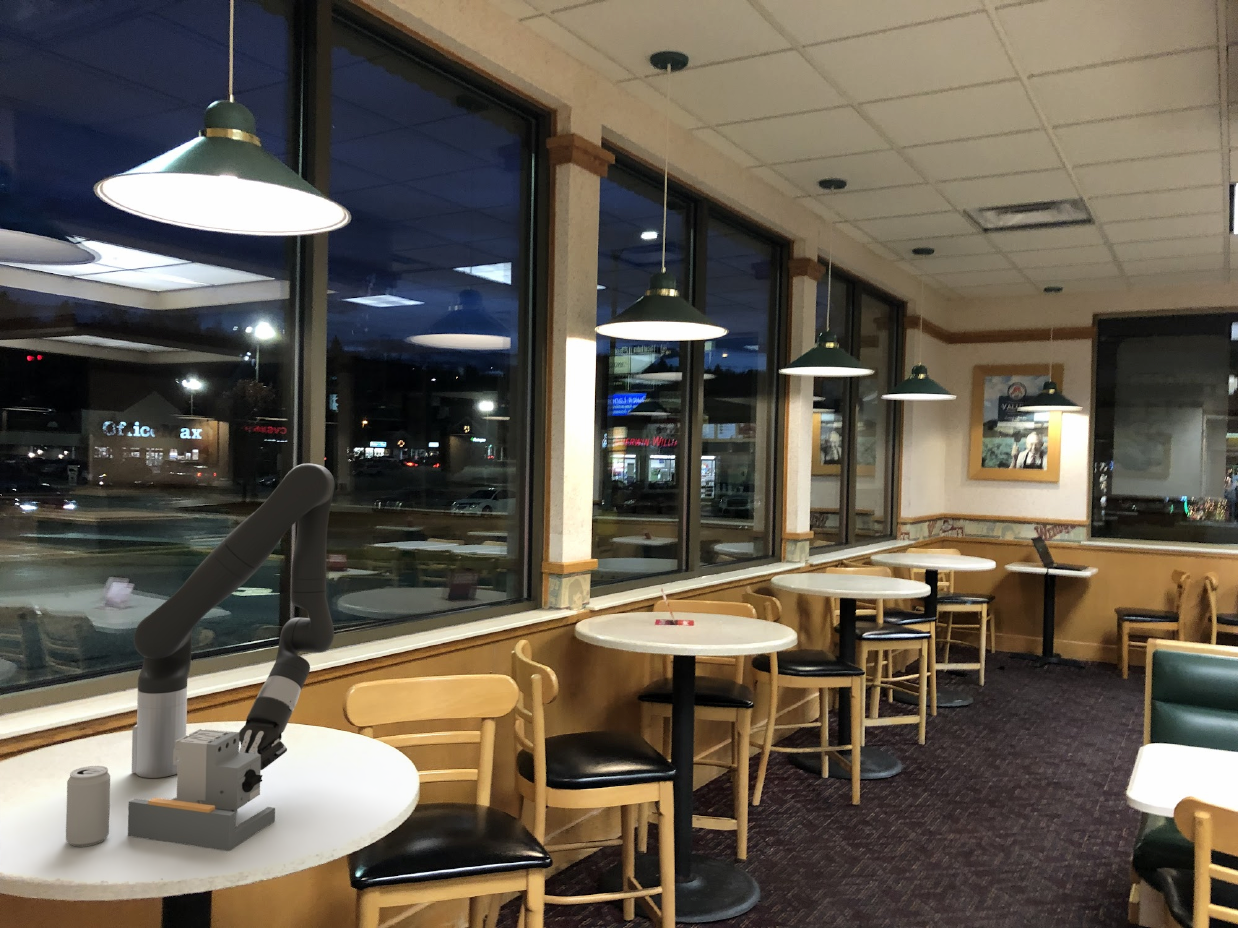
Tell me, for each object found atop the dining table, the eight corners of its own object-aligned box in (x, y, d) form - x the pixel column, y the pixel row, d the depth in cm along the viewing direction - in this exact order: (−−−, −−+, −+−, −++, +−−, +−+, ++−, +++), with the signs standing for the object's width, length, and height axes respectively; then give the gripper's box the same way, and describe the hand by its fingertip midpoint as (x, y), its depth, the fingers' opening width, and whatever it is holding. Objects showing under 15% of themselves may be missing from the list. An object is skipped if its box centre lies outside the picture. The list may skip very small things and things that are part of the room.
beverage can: (77, 832, 161) (78, 764, 161) (115, 832, 162) (117, 764, 162) (58, 848, 155) (59, 777, 155) (98, 848, 156) (99, 777, 155)
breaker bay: (127, 835, 161) (128, 798, 161) (179, 808, 173) (180, 772, 173) (228, 850, 156) (229, 811, 156) (274, 821, 169) (275, 785, 169)
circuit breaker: (245, 832, 164) (247, 747, 164) (171, 824, 166) (173, 740, 166) (267, 815, 171) (269, 734, 171) (197, 808, 174) (198, 728, 173)
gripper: (237, 692, 183) (194, 775, 172) (297, 697, 180) (258, 782, 169) (252, 711, 189) (213, 793, 177) (311, 717, 186) (275, 800, 174)
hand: (235, 787), depth 173 cm, fingers closed
